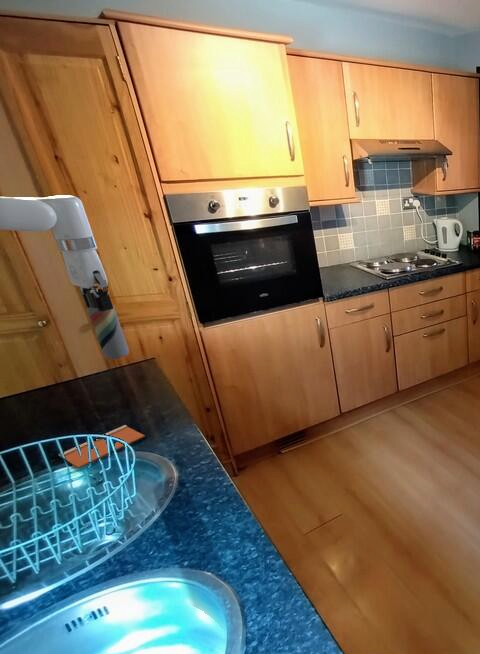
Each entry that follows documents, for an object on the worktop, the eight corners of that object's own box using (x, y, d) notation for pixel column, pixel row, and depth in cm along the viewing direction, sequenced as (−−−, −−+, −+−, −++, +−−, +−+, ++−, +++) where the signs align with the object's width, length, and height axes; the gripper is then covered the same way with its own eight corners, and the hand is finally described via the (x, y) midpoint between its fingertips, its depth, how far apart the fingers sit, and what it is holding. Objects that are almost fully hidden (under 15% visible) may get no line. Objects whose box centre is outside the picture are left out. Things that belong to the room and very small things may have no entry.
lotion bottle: (109, 352, 134) (86, 288, 127) (132, 350, 136) (110, 286, 129) (101, 360, 130) (76, 294, 122) (125, 357, 131) (102, 292, 124)
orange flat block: (78, 468, 106) (77, 466, 106) (58, 455, 110) (57, 453, 110) (145, 436, 117) (144, 434, 117) (124, 426, 122) (124, 424, 121)
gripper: (44, 243, 121) (69, 307, 128) (75, 250, 114) (100, 317, 121) (79, 239, 127) (100, 300, 134) (110, 245, 120) (132, 309, 127)
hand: (100, 307), depth 127 cm, fingers closed on lotion bottle, 5 cm apart
